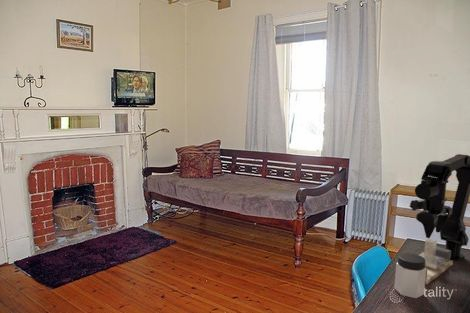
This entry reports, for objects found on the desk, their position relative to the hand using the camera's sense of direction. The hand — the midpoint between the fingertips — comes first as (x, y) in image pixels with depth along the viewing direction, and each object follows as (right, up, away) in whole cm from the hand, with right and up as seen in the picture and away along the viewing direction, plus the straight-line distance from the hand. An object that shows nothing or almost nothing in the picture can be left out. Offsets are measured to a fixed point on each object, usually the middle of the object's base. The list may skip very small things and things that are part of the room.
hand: (432, 235), depth 136 cm
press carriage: (-1, -11, +1) cm, 11 cm away
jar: (-17, -16, -16) cm, 28 cm away
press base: (-2, -13, 0) cm, 13 cm away
